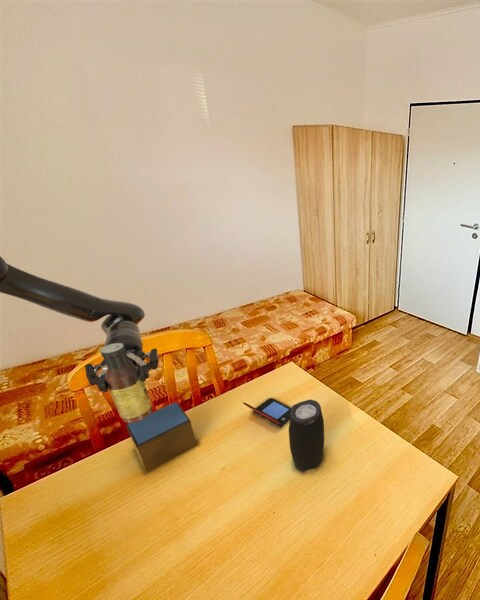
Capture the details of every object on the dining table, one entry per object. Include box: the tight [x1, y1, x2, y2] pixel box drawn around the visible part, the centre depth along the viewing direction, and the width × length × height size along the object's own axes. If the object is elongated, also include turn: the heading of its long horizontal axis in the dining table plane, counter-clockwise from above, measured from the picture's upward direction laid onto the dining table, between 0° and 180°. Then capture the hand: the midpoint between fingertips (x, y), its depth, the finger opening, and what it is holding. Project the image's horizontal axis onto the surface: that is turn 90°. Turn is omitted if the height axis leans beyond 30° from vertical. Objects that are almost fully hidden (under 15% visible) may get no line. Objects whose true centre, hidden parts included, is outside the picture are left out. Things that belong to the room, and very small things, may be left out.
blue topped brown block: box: [125, 402, 197, 473], centre depth 89 cm, size 12×10×10 cm
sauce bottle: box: [99, 343, 153, 424], centre depth 74 cm, size 6×6×20 cm
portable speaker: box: [288, 398, 325, 473], centre depth 87 cm, size 9×9×20 cm
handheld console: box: [242, 397, 292, 428], centre depth 103 cm, size 12×11×7 cm
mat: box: [127, 402, 188, 445], centre depth 87 cm, size 11×9×1 cm
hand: (124, 383), depth 72 cm, fingers closed on sauce bottle, 6 cm apart
